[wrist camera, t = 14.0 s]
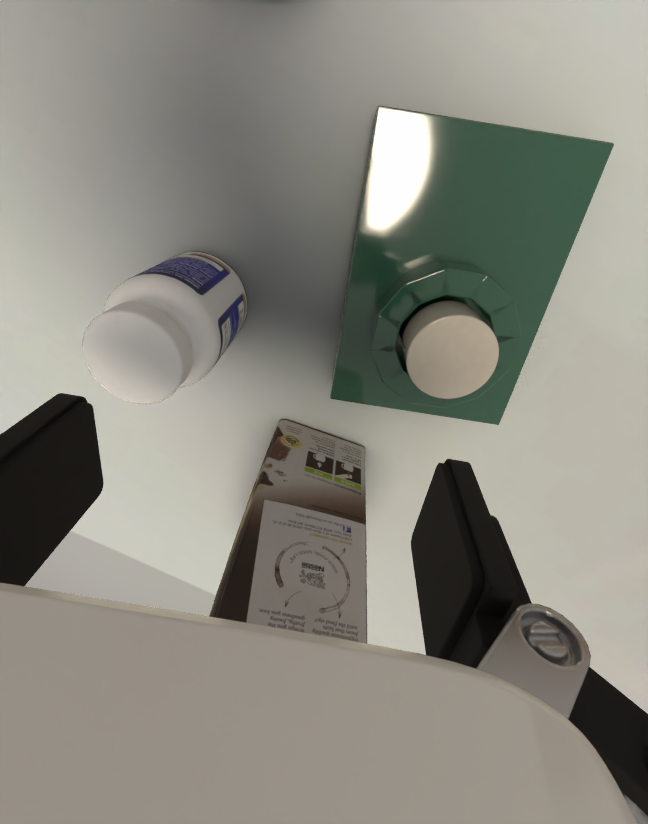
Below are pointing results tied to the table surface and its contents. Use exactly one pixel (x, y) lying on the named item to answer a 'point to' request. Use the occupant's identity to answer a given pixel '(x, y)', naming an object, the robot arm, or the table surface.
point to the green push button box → (458, 247)
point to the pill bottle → (165, 327)
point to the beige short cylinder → (449, 350)
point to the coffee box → (302, 540)
